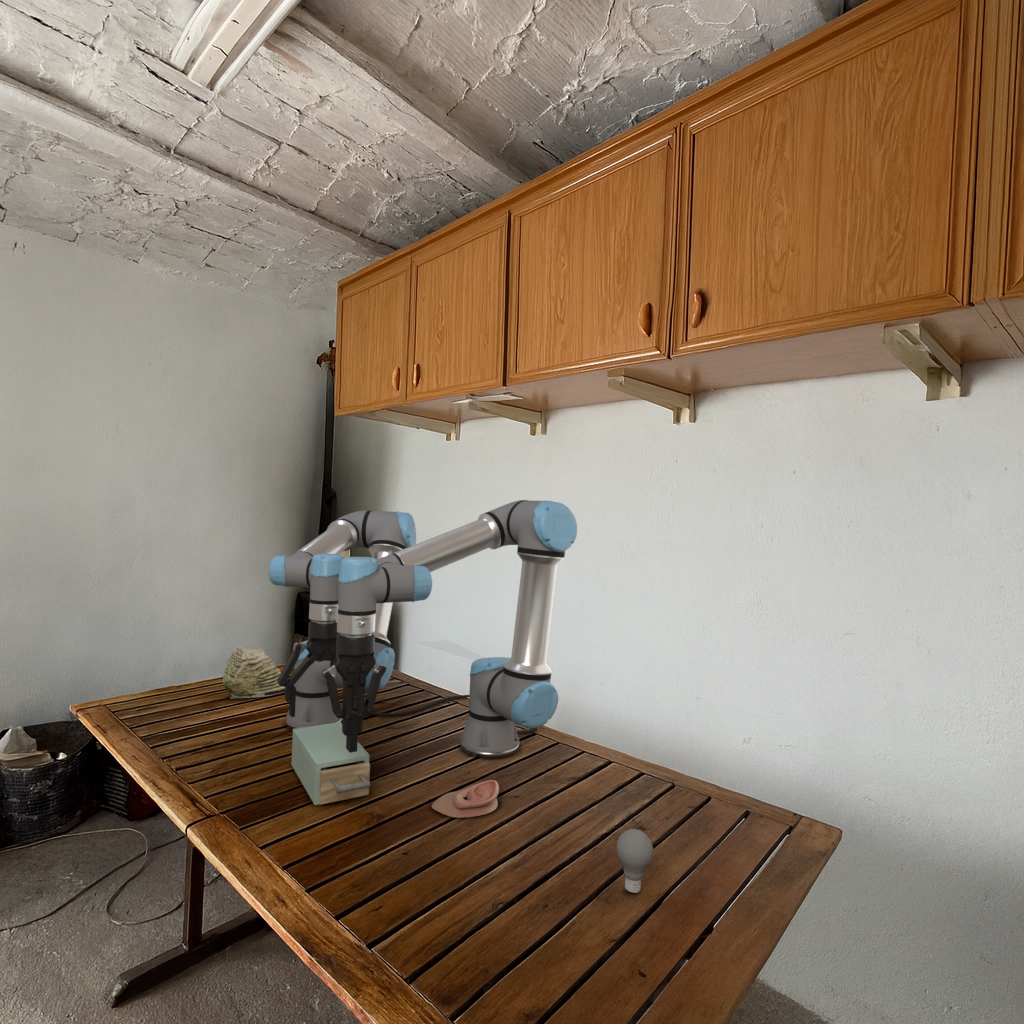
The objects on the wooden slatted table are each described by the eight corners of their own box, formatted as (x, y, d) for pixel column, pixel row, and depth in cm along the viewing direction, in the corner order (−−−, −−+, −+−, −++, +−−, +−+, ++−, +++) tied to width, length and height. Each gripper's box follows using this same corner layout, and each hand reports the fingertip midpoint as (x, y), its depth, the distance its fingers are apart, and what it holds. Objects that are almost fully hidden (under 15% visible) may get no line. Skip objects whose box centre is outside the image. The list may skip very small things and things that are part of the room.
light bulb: (610, 879, 108) (613, 822, 108) (644, 879, 109) (647, 822, 109) (619, 902, 102) (622, 840, 102) (655, 901, 103) (658, 840, 103)
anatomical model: (427, 794, 128) (444, 771, 139) (426, 813, 128) (443, 788, 139) (490, 803, 125) (503, 779, 137) (489, 823, 126) (502, 797, 137)
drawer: (377, 805, 129) (378, 774, 129) (327, 816, 124) (329, 783, 124) (341, 758, 151) (342, 731, 151) (297, 766, 146) (298, 738, 146)
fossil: (218, 695, 195) (220, 647, 195) (278, 685, 208) (279, 640, 207) (228, 703, 189) (230, 653, 188) (289, 692, 201) (290, 645, 201)
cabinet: (367, 794, 136) (369, 754, 136) (314, 805, 130) (316, 764, 130) (339, 756, 154) (340, 721, 154) (291, 765, 149) (292, 728, 148)
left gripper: (272, 627, 138) (268, 724, 138) (382, 620, 151) (379, 709, 151) (266, 620, 144) (262, 713, 144) (372, 614, 157) (368, 700, 157)
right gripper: (328, 640, 121) (323, 762, 122) (393, 635, 128) (388, 750, 128) (318, 632, 128) (314, 748, 128) (380, 628, 134) (376, 738, 135)
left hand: (322, 711), depth 148 cm, fingers open, 13 cm apart
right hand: (351, 749), depth 128 cm, fingers closed
